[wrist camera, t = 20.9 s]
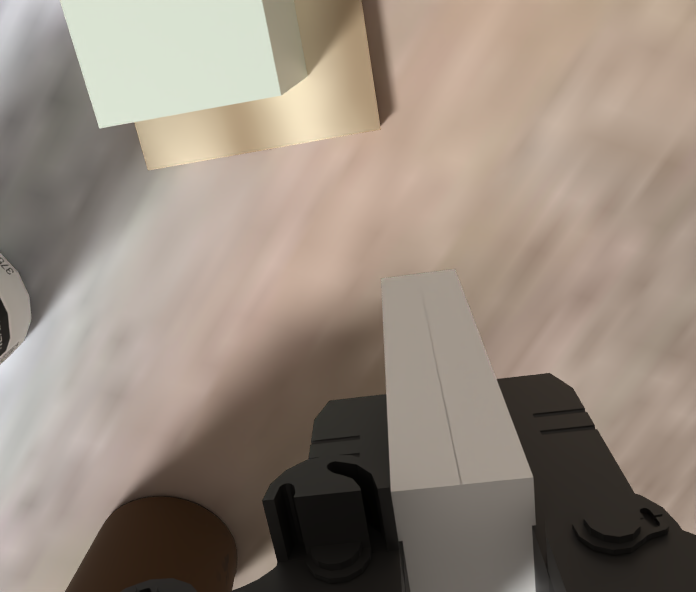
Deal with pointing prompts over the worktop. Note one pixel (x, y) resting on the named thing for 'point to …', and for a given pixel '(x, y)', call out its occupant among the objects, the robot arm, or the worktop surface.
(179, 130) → the post base
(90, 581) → the olive oil
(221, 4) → the tall mint green block
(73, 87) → the worktop surface
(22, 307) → the supplement can
